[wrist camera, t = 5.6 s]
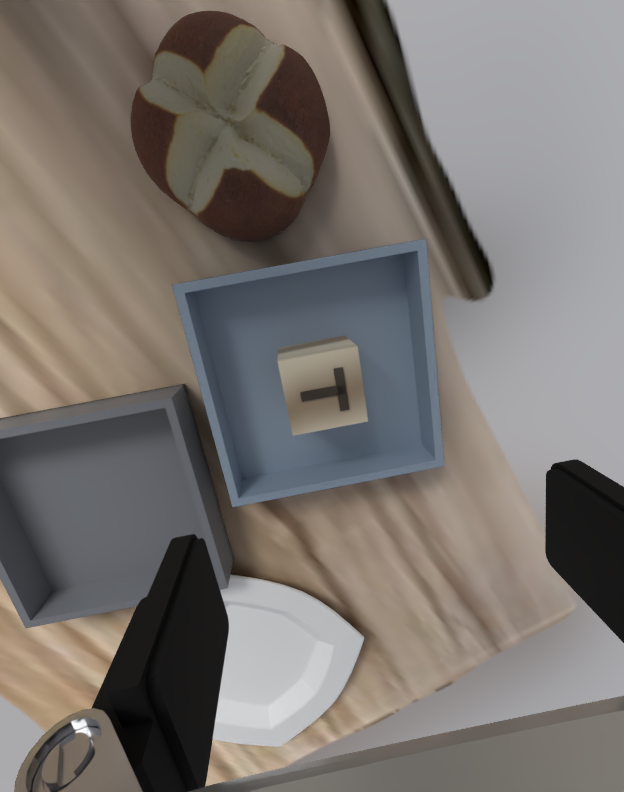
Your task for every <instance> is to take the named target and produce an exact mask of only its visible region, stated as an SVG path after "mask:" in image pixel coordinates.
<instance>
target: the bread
mask: <svg viewBox="0 0 624 792" xmlns="http://www.w3.org/2000/svg"><path fill="white" fill-rule="evenodd" d="M152 73H153V77H152V80H151V81H149V83H148V84H145V85H143V86H141V87H139V88H138V89H137V91H136V94H135V97H134V101H133V105H132V112H131V131H132V138H133V142H134V146H135V150H136V152H137V155H138V157H139V159H140V161H141V163H142V165H143V167H144V169H145V170H146V172H147V173H148V175H149V176H150V178H151V179H152V180H153V181H154V182H155V183H156V185H157V186H158V187H159V188H160V189H161V190H162V191H163V192H164V193H166V194H167V195H168V196H169V197H170V198H171V199H173V200H174V201H175V202H177V203H178V204H180V205H181V206H183V207H184V208H186V209H188V210H189V211H191V212H192V213H193V214H194V215H196V216H197V217H198V218H199V219H200V220H201V221H202V222H203V223H204V224H205V225H207V226H208V227H209V228H211V229H213V230H214V231H216V232H218V233H219V234H221V235H223V236H226V237H229V238H231V239H235V240H239V241H248V242H255V241H261V240H265V239H268V238H270V237H272V236H275V235H277V234H278V233H280V232H281V231H283V230H284V229H286V228H287V227H288V226H289V225H290V224H291V223H292V222H293V220H294V219H295V218H296V216H297V214H298V213H299V211H300V209H301V207H302V205H303V202H304V200H305V196H306V194H307V192H308V191H309V189H310V188H311V186H312V184H313V183H314V181H315V179H316V177H317V175H318V172H319V170H320V167H321V164H322V161H323V159H324V156H325V153H326V150H327V146H328V142H329V137H330V123H329V117H328V112H327V108H326V104H325V100H324V97H323V94H322V91H321V88H320V85H319V83H318V80H317V78H316V76H315V74H314V72H313V71H312V69H311V67H310V66H309V64H308V63H307V61H306V60H305V59H304V58H303V56H301V55H300V54H299V53H297V52H296V51H294V50H293V49H291V48H289V47H287V46H285V45H277V44H275V43H273V42H270V41H269V40H268V39H266V38H265V36H264V35H263V34H262V33H261V32H260V31H259V30H258V29H257V28H256V27H255V26H253V25H251V24H250V23H248V22H246V21H245V20H243V19H240V18H238V17H236V16H234V15H231V14H228V13H225V12H219V11H201V12H197V13H193V14H189V15H187V16H185V17H183V18H181V19H180V20H179V21H178V22H177V23H175V24H174V25H173V26H172V27H171V28H170V30H169V31H168V32H167V34H166V35H165V37H164V38H163V40H162V42H161V44H160V46H159V48H158V50H157V52H156V54H155V58H154V62H153V70H152Z"/></svg>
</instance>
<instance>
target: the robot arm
mask: <svg viewBox="0 0 624 792" xmlns="http://www.w3.org/2000/svg"><path fill="white" fill-rule="evenodd" d="M546 557H547V559H548V562H549V563H550V565H551V566H552V567H553V568H554V570H555V571H556V572H557V573H558V574H559V575H560V576H561V577H562V578H563V579H564V580H565V581H566V582H567V583H568V584H569V585H570V586H571V588H572V589H573V590H574V591H575V592H576V593H577V594H578V595H579V596H580V597H581V598H582V599H583V600H584V601H585V602H586V603H587V605H588V606H590V608H591V609H592V610H593V611H594V612H595V613H596V614H597V615H598V616H599V617H600V618H601V619H602V620H603V621H604V622H605V623H606V624H607V626H608V627H609V628H610V629H611V630H612V631H613V632H614V633H615V634H616V635H617V636H618V637H619V638H620V639H621V641H622V642H623V643H624V487H623V486H621V485H619V484H618V483H616V482H614V481H613V480H611V479H609V478H608V477H606V476H605V475H603V474H601V473H600V472H598V471H596V470H594V469H593V468H591V467H590V466H588V465H586V464H585V463H583V462H581V461H579V460H570V461H565V462H559V463H555V464H553V465H552V467H551V470H549V471H547V473H546ZM228 633H229V620H228V615H227V612H226V608H225V605H224V602H223V598H222V595H221V592H220V589H219V585H218V582H217V579H216V576H215V572H214V569H213V566H212V562H211V559H210V556H209V553H208V549H207V546H206V543H205V540H204V539H203V538H200V539H198V538H197V536H196V535H195V534H191V535H186V536H180V537H175V538H173V539H172V540H171V541H170V544H169V546H168V548H167V551H166V553H165V555H164V558H163V560H162V562H161V565H160V567H159V569H158V572H157V574H156V576H155V579H154V581H153V583H152V586H151V588H150V590H149V593H148V595H147V597H144V598H143V599H142V600H140V602H139V604H138V605H137V607H136V610H135V612H134V614H133V616H132V619H131V621H130V623H129V625H128V628H127V630H126V632H125V634H124V637H123V639H122V641H121V643H120V646H119V648H118V650H117V652H116V655H115V657H114V659H113V661H112V664H111V666H110V668H109V670H108V673H107V675H106V677H105V679H104V682H103V684H102V686H101V688H100V691H99V693H98V695H97V697H96V700H95V702H94V704H93V706H92V709H84V710H81V711H78V712H76V713H73V714H71V715H69V716H67V717H66V718H64V719H63V720H61V721H60V722H58V723H57V724H55V725H54V726H53V727H52V728H51V729H50V730H49V731H47V732H46V733H45V734H44V735H43V736H42V737H41V738H40V739H39V741H38V742H37V743H36V744H35V745H34V747H33V748H32V749H31V750H30V752H29V753H28V755H27V757H26V758H25V760H24V762H23V763H22V765H21V767H20V769H19V772H18V775H17V778H16V781H15V790H14V792H624V696H621V697H616V698H611V699H606V700H601V701H596V702H592V703H586V704H581V705H576V706H571V707H567V708H562V709H557V710H553V711H547V712H543V713H538V714H533V715H528V716H523V717H518V718H514V719H509V720H504V721H499V722H494V723H490V724H485V725H480V726H475V727H471V728H466V729H461V730H456V731H451V732H447V733H442V734H437V735H432V736H428V737H423V738H418V739H414V740H409V741H404V742H400V743H395V744H390V745H386V746H381V747H376V748H372V749H367V750H363V751H358V752H353V753H349V754H344V755H339V756H335V757H330V758H325V759H321V760H316V761H312V762H307V763H302V764H298V765H293V766H289V767H285V768H281V769H276V770H272V771H268V772H264V773H259V774H255V775H251V776H247V777H243V778H238V779H234V780H230V781H226V782H222V783H217V784H213V785H210V786H206V787H205V783H206V778H207V772H208V765H209V759H210V752H211V745H212V739H213V732H214V726H215V719H216V712H217V706H218V699H219V693H220V686H221V679H222V673H223V666H224V660H225V653H226V646H227V640H228Z"/></svg>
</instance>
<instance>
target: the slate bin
mask: <svg viewBox="0 0 624 792" xmlns="http://www.w3.org/2000/svg"><path fill="white" fill-rule="evenodd" d="M172 286H173V290H174V294H175V297H176V301H177V305H178V308H179V312H180V316H181V320H182V323H183V327H184V331H185V334H186V338H187V342H188V345H189V349H190V353H191V356H192V360H193V364H194V367H195V371H196V375H197V378H198V382H199V386H200V390H201V393H202V397H203V401H204V404H205V408H206V412H207V415H208V419H209V423H210V426H211V430H212V434H213V437H214V441H215V445H216V449H217V452H218V456H219V460H220V463H221V467H222V471H223V474H224V478H225V482H226V485H227V489H228V493H229V496H230V500H231V504H232V507H237V506H242V505H247V504H252V503H258V502H263V501H268V500H273V499H278V498H283V497H288V496H294V495H299V494H304V493H309V492H314V491H319V490H324V489H330V488H335V487H340V486H345V485H350V484H355V483H360V482H366V481H371V480H376V479H381V478H386V477H391V476H396V475H402V474H407V473H412V472H417V471H422V470H427V469H432V468H438V467H443V466H444V457H443V444H442V432H441V419H440V407H439V394H438V382H437V369H436V357H435V344H434V332H433V319H432V307H431V294H430V282H429V269H428V257H427V244H426V239H422V240H416V241H411V242H405V243H400V244H394V245H389V246H383V247H378V248H372V249H367V250H361V251H356V252H350V253H345V254H339V255H334V256H328V257H323V258H317V259H312V260H306V261H301V262H295V263H290V264H284V265H279V266H273V267H267V268H262V269H256V270H251V271H245V272H240V273H234V274H229V275H223V276H218V277H212V278H207V279H201V280H196V281H190V282H185V283H179V284H174V285H172ZM344 335H345V336H346V337H348V338H349V339H350V340H351V341H352V342H353V343H354V344H356V345H357V346H358V352H359V359H360V366H361V373H362V381H363V388H364V395H365V402H366V409H367V416H368V422H363V423H357V424H352V425H347V426H342V427H336V428H331V429H326V430H321V431H315V432H310V433H305V434H300V435H295V436H293V435H292V430H291V425H290V420H289V415H288V410H287V406H286V401H285V396H284V391H283V386H282V381H281V376H280V371H279V367H278V362H277V360H278V348H279V347H285V346H290V345H295V344H301V343H306V342H312V341H317V340H322V339H328V338H333V337H338V336H344Z"/></svg>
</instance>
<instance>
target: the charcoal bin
mask: <svg viewBox="0 0 624 792" xmlns="http://www.w3.org/2000/svg"><path fill="white" fill-rule="evenodd" d="M191 534H195V535H196V536H197V538H198V539H200V538H203V539H204V540H205V543H206V546H207V549H208V553H209V556H210V559H211V562H212V566H213V569H214V572H215V576H216V579H217V582H218V585H219V589H220V590H221V589H226V588H228V586H229V580H230V574H231V568H232V563H233V553H232V550H231V546H230V543H229V539H228V536H227V532H226V529H225V525H224V521H223V518H222V514H221V511H220V507H219V504H218V500H217V497H216V493H215V490H214V486H213V483H212V479H211V476H210V472H209V468H208V465H207V461H206V458H205V454H204V451H203V447H202V444H201V440H200V437H199V433H198V430H197V426H196V423H195V419H194V415H193V412H192V408H191V405H190V401H189V398H188V394H187V391H186V387H185V384H182V385H176V386H171V387H166V388H160V389H155V390H150V391H144V392H139V393H133V394H128V395H123V396H117V397H112V398H107V399H101V400H96V401H91V402H85V403H80V404H75V405H69V406H64V407H59V408H53V409H48V410H43V411H37V412H32V413H27V414H21V415H16V416H11V417H5V418H0V579H1V581H2V583H3V585H4V587H5V589H6V591H7V593H8V595H9V596H10V598H11V600H12V602H13V604H14V606H15V608H16V610H17V612H18V614H19V616H20V618H21V620H22V622H23V624H24V626H25V628H30V627H35V626H40V625H45V624H50V623H55V622H60V621H65V620H70V619H75V618H80V617H85V616H90V615H95V614H100V613H105V612H110V611H115V610H120V609H125V608H130V607H135V606H137V605H138V604H139V602H140V600H142V599H143V598H144V597H147V595H148V593H149V590H150V588H151V586H152V583H153V581H154V579H155V576H156V574H157V572H158V569H159V567H160V565H161V562H162V560H163V558H164V555H165V553H166V551H167V548H168V546H169V544H170V541H171V540H172V539H173V538H175V537H180V536H186V535H191Z"/></svg>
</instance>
